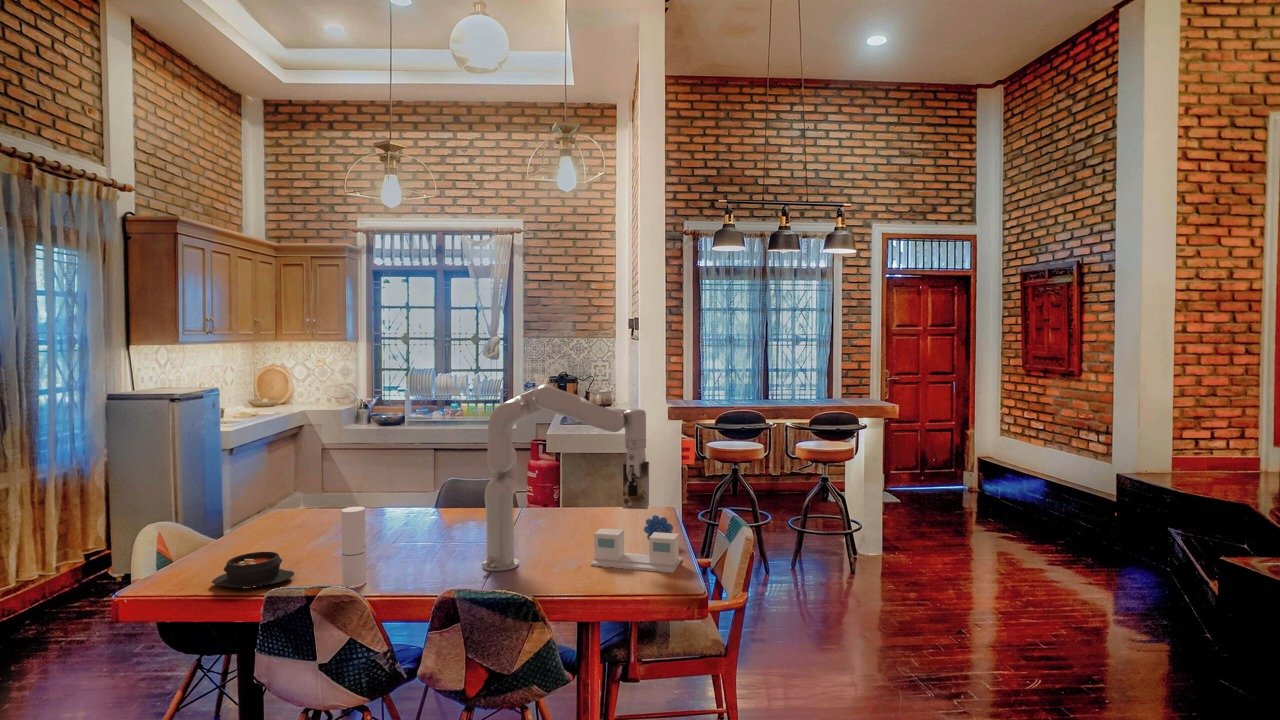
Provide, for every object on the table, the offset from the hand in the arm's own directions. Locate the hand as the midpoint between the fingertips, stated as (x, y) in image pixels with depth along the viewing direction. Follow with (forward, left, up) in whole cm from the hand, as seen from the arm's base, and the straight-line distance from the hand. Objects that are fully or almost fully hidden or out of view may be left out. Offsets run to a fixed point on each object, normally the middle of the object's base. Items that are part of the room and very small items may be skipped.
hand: (635, 493), depth 239 cm
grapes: (+21, -3, -25) cm, 33 cm away
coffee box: (0, 0, -5) cm, 5 cm away
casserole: (-51, +118, -25) cm, 131 cm away
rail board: (0, 0, -25) cm, 25 cm away
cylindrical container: (-44, +84, -25) cm, 98 cm away
